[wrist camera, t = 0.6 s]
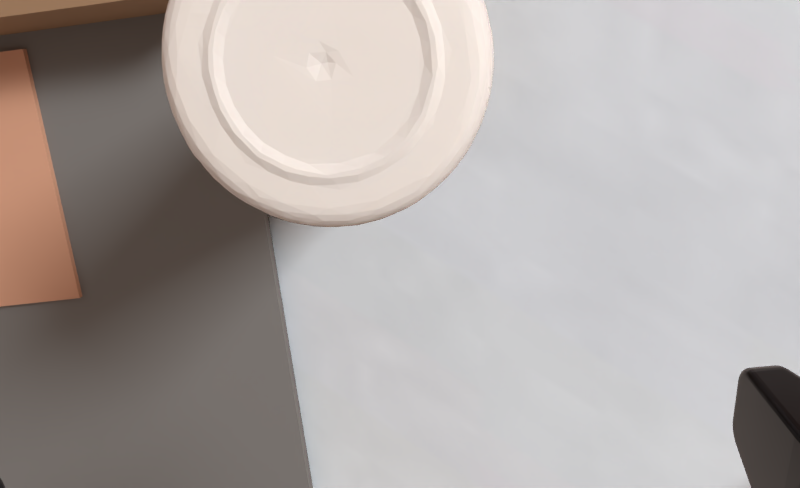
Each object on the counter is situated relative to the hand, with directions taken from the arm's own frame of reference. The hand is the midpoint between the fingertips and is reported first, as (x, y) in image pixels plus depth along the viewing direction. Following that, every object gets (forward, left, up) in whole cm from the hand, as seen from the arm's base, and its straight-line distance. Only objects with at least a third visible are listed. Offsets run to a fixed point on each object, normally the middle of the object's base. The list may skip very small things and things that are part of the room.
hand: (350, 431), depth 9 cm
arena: (-2, +12, -15) cm, 20 cm away
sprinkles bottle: (+4, 0, -15) cm, 16 cm away
